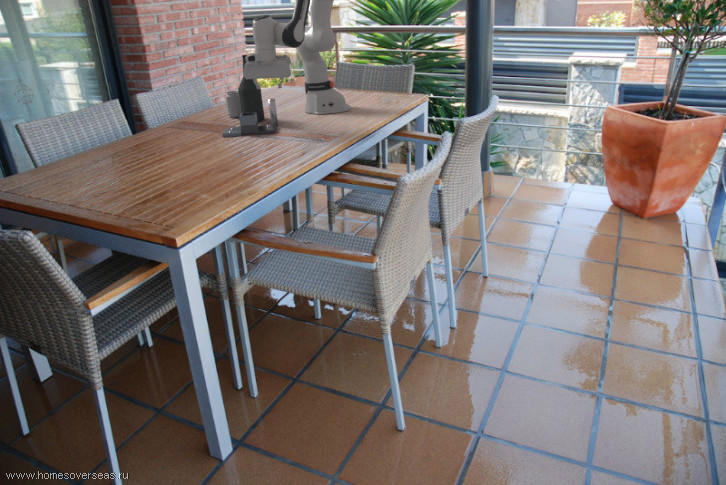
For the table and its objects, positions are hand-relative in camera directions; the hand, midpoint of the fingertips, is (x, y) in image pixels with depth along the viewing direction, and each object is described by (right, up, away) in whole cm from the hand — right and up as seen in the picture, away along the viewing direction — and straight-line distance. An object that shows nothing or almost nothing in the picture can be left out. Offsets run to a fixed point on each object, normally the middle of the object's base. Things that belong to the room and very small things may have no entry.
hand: (269, 88), depth 251 cm
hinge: (-8, -19, -1) cm, 21 cm away
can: (-21, -6, +30) cm, 37 cm away
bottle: (-10, -10, +19) cm, 24 cm away
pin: (+1, -15, +8) cm, 17 cm away
